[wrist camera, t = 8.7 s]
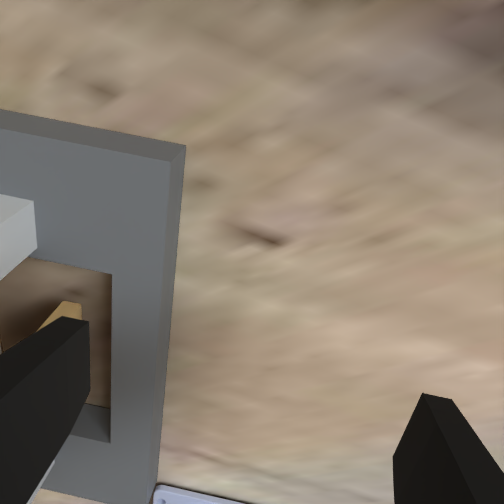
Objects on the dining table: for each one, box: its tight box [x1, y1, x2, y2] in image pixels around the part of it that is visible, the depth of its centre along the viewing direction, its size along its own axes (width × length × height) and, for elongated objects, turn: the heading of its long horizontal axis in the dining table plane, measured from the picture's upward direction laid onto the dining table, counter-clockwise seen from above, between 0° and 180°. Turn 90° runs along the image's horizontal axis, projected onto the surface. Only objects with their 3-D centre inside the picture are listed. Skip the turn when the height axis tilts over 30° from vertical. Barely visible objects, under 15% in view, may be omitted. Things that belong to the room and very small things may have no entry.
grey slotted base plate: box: [0, 109, 186, 504], centre depth 21 cm, size 20×12×5 cm, turn 171°
